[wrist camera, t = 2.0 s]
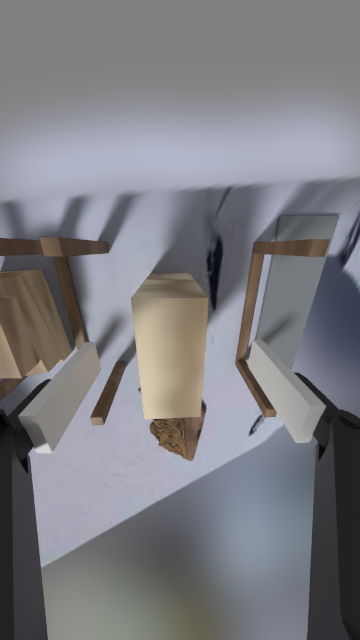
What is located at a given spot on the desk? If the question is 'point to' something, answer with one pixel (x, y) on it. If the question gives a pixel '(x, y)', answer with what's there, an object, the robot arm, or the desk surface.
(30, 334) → the offcut
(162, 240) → the desk surface
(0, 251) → the rack
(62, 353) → the offcut
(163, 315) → the pale wooden block
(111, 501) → the desk surface
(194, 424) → the wooden fragment
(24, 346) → the offcut
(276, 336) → the felt mat
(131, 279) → the desk surface
